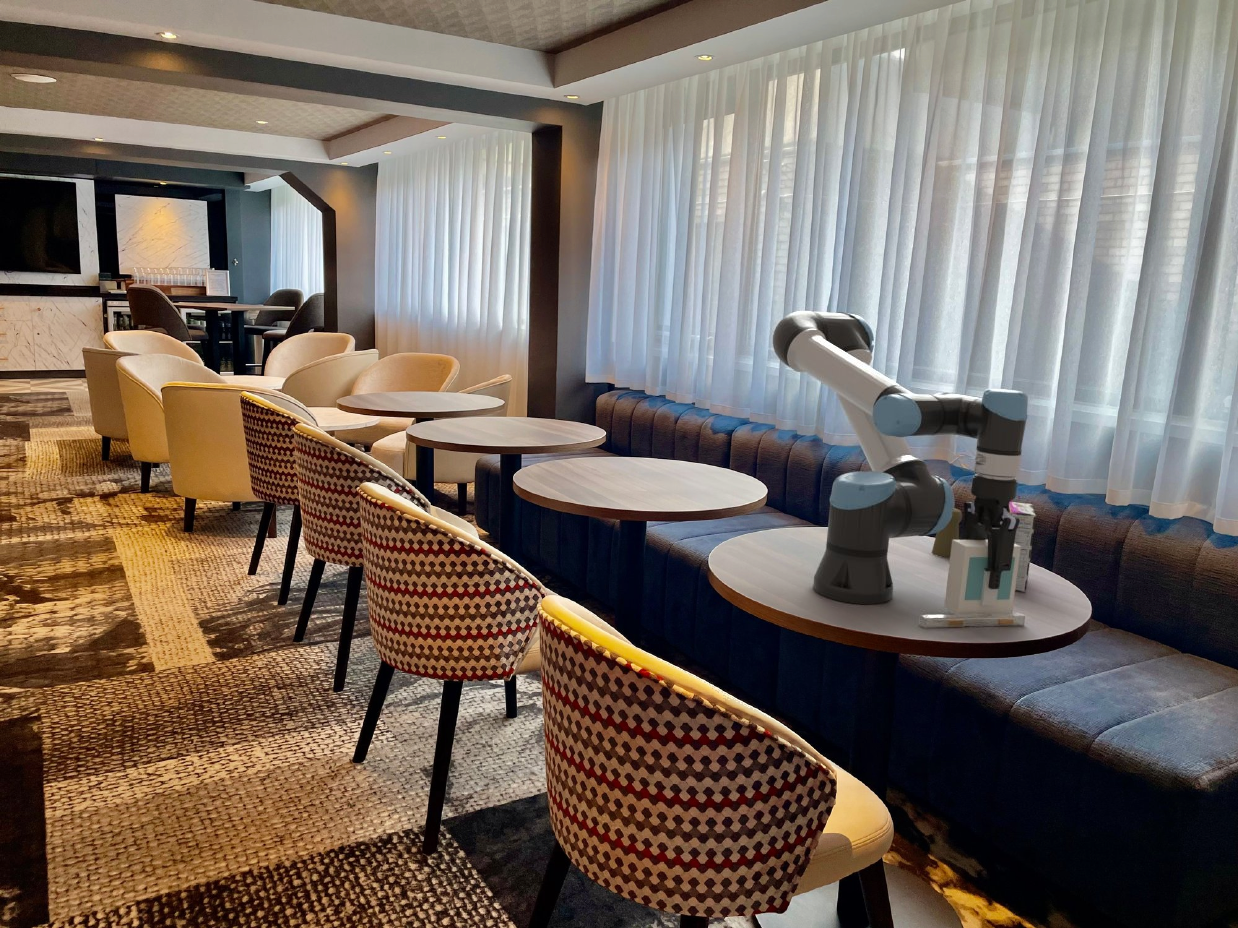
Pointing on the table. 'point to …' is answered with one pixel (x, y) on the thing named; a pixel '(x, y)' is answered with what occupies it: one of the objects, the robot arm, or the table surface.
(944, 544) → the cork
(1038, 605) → the table surface
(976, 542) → the carton box
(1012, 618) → the rail
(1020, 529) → the candy bar box
